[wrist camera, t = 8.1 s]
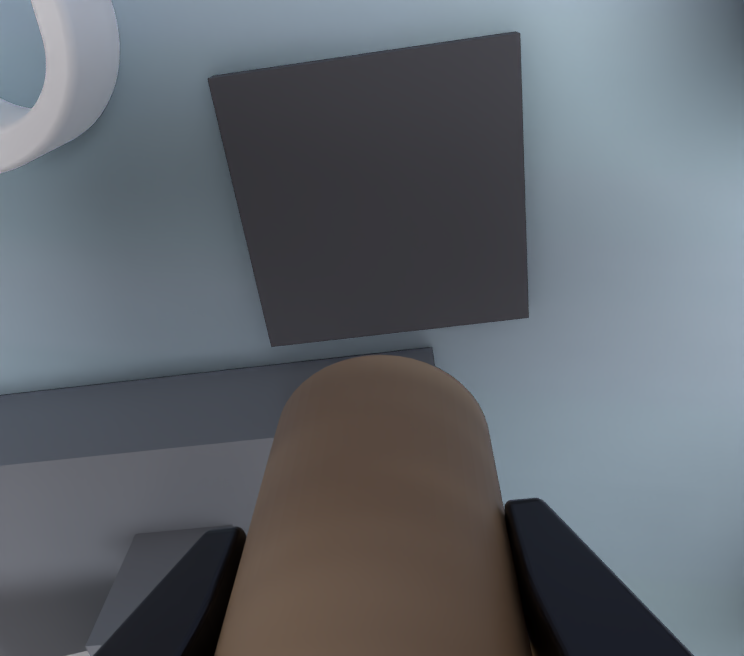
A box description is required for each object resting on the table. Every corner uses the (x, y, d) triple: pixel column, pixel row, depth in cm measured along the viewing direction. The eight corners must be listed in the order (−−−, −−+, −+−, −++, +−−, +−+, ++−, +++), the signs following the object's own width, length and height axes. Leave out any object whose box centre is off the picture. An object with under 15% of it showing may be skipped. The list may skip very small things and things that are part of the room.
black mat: (516, 31, 17) (519, 33, 16) (524, 309, 21) (528, 317, 20) (212, 75, 18) (207, 78, 17) (274, 337, 21) (271, 346, 21)
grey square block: (432, 347, 21) (455, 523, 14) (466, 665, 29) (493, 883, 22) (-36, 399, 23) (-221, 584, 16) (112, 692, 30) (31, 906, 23)
